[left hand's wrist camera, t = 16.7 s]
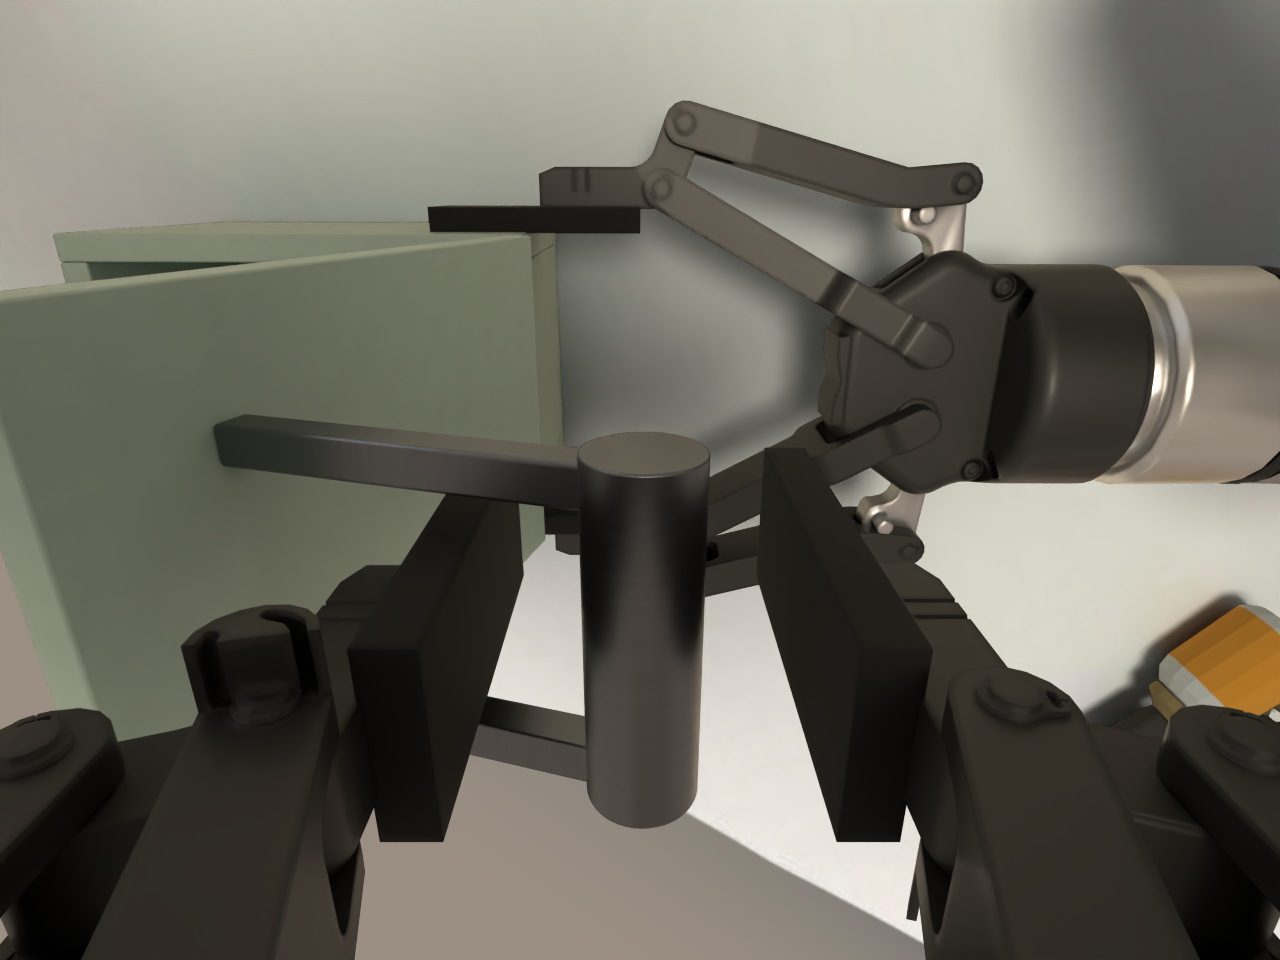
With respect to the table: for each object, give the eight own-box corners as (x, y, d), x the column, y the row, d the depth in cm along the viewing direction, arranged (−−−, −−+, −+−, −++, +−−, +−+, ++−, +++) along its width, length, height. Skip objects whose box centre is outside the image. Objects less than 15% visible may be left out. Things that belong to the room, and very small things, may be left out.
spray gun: (1456, 652, 38) (1254, 843, 44) (1211, 548, 35) (1025, 768, 40) (1551, 709, 34) (1316, 910, 40) (1286, 598, 31) (1069, 834, 37)
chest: (264, 444, 34) (132, 531, 25) (221, 221, 30) (50, 233, 22) (563, 444, 34) (536, 532, 25) (555, 222, 30) (520, 234, 22)
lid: (127, 920, 12) (637, 1098, 9) (-91, 300, 8) (638, 343, 6) (523, 537, 25) (778, 572, 22) (505, 235, 21) (803, 241, 19)
